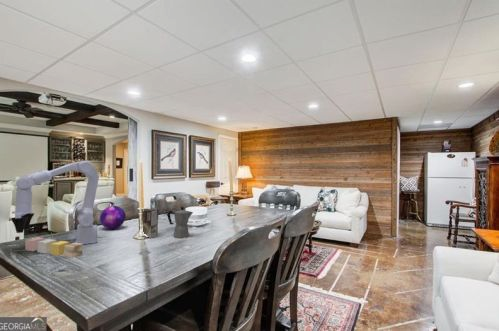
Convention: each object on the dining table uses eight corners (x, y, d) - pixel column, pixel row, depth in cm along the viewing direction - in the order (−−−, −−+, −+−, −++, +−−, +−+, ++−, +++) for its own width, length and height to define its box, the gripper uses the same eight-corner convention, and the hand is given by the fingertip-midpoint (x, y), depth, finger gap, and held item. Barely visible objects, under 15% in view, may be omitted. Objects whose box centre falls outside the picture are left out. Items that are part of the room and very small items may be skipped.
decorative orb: (93, 230, 160) (94, 206, 160) (110, 225, 175) (111, 203, 175) (114, 232, 157) (115, 208, 157) (129, 226, 172) (130, 205, 172)
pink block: (36, 247, 125) (36, 237, 125) (43, 248, 124) (44, 238, 124) (25, 250, 121) (25, 239, 121) (32, 251, 119) (33, 240, 119)
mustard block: (60, 251, 121) (61, 240, 121) (68, 252, 120) (69, 241, 120) (50, 254, 116) (50, 243, 116) (58, 255, 115) (58, 244, 115)
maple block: (73, 253, 119) (74, 242, 119) (82, 254, 117) (82, 243, 117) (63, 256, 114) (64, 245, 114) (72, 258, 113) (72, 247, 113)
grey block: (48, 249, 123) (48, 238, 123) (56, 250, 122) (56, 240, 122) (37, 252, 118) (37, 241, 118) (45, 253, 117) (45, 242, 117)
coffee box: (158, 235, 152) (159, 209, 153) (150, 238, 146) (151, 211, 146) (145, 234, 155) (146, 208, 156) (138, 236, 149) (139, 209, 149)
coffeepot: (192, 234, 159) (193, 205, 160) (192, 238, 150) (193, 208, 150) (167, 234, 156) (168, 205, 156) (165, 238, 147) (166, 208, 147)
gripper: (18, 200, 123) (17, 227, 123) (6, 204, 110) (5, 235, 110) (36, 199, 126) (35, 226, 126) (27, 203, 114) (26, 233, 113)
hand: (22, 230), depth 118 cm, fingers open, 7 cm apart
